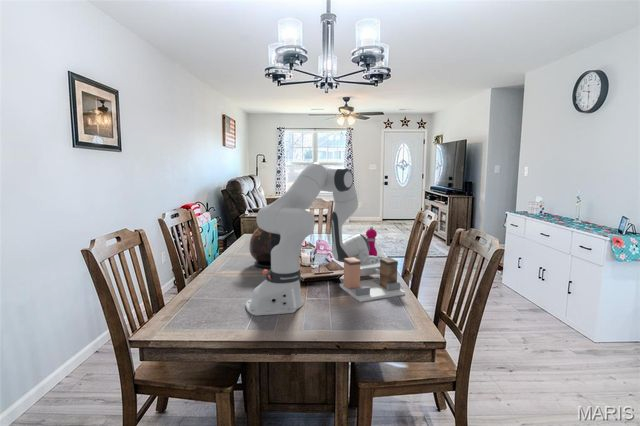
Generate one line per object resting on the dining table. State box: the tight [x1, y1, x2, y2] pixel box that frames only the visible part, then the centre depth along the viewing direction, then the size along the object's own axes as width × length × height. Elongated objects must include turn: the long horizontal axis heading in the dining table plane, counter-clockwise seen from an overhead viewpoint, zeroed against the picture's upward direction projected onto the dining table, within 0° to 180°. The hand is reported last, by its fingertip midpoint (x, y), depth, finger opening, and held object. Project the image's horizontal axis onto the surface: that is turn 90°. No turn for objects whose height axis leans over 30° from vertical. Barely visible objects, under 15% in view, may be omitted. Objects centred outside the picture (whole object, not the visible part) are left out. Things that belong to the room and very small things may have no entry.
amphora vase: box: [248, 226, 281, 270], centre depth 191 cm, size 22×22×28 cm
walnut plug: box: [379, 257, 399, 288], centre depth 157 cm, size 5×6×12 cm
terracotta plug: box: [343, 257, 361, 289], centre depth 157 cm, size 5×6×12 cm
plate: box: [339, 277, 406, 303], centre depth 157 cm, size 22×19×4 cm
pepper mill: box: [365, 226, 378, 256], centre depth 200 cm, size 7×7×20 cm
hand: (384, 273), depth 160 cm, fingers closed, pressing on walnut plug
